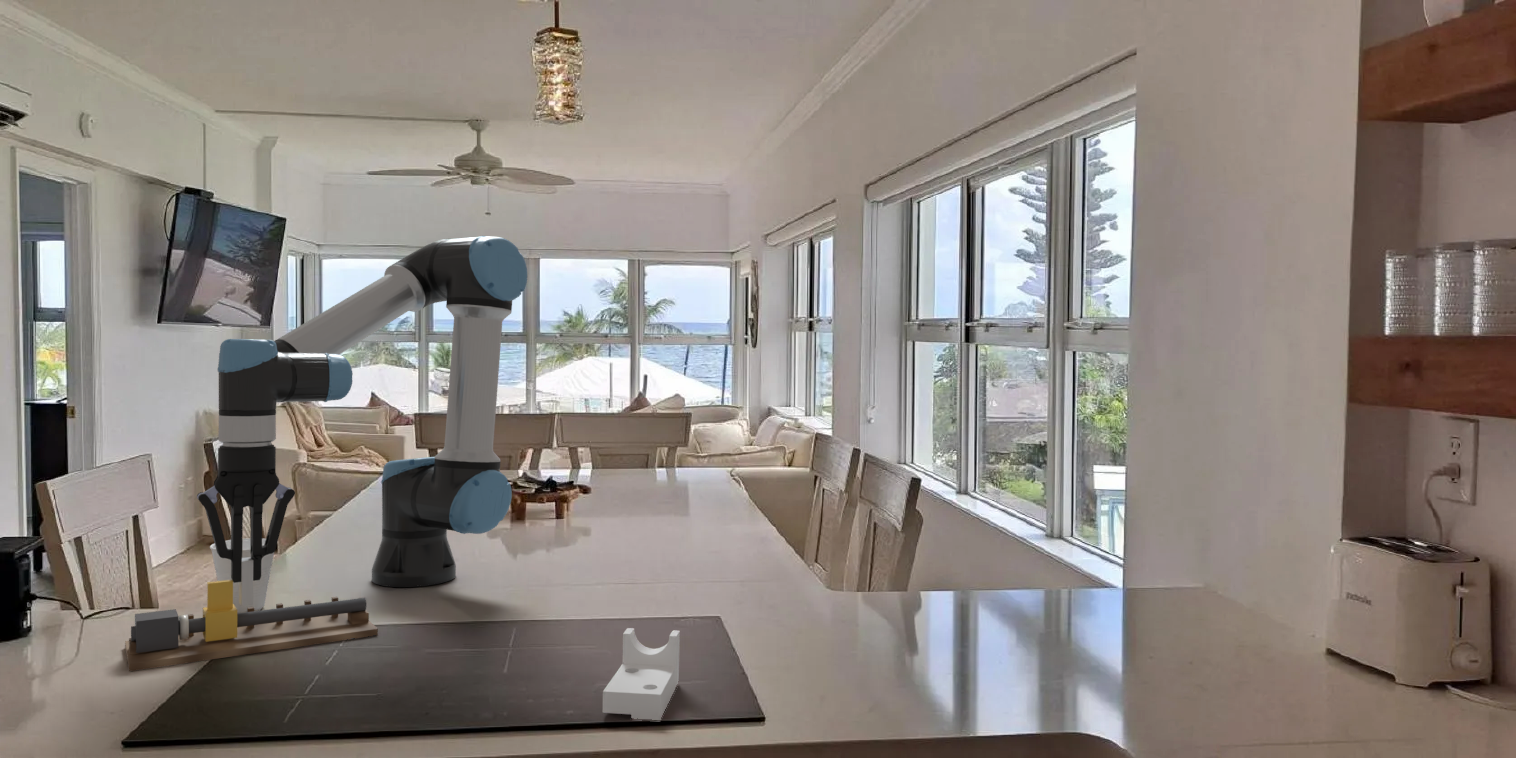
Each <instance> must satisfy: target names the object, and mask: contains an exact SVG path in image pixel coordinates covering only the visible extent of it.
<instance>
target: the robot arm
mask: <svg viewBox="0 0 1516 758" xmlns="http://www.w3.org/2000/svg"><path fill="white" fill-rule="evenodd" d="M527 283H528V267H527V263H526V261H525V258H524V255H523V254H522V253H521V252H520V251H519V248H518V247H517V246H516V245H515V243H513V241H512V242H511V241H510V240H508V239H506V238H504V237H501V236H488V235H479V236H473V237H472V236H471V237H461V238H459V237H458V238H442V239H439V240H435V241H433V242H431V243H428V244H427V245H426V244H425V245H424V246H422V247H421V248H418V249H417V250H416V251H413V252H411V253H410V254H408V255H406V256H405V257H403V258H402V259H399V260H398V261H396V262H393V264H391V265H389V266H388V267H386V269H385V271H384V275H383V276H382V277H380V278H379V279H377V280H375V281H374V282H372V283H370V284H368V285H366V286H365V287H363V288H362V289H359V290H358V291H357V292H355V293H354V294H352V295H351V294H350V295H349V296H348V297H347V298H345V299H343V300H342V301H340V302H338V303H337V304H335V305H333V306H331V307H330V308H328V309H326V310H325V311H323V312H321V313H319V314H318V315H316V316H314V317H313V318H311V319H309V320H307V321H306V322H304V323H302V324H300V325H299V326H298V327H296V328H294V329H293V330H291V331H289V332H288V333H286V334H284V335H282V336H280V337H279V338H278V339H277V338H276V339H275V340H273V339H255V338H254V339H253V338H251V339H248V338H247V339H246V338H226V339H225V340H223V341H222V342H221V343H220V346H219V354H218V365H217V372H218V437H217V438H218V439H217V440H218V442H220V443H222V445H220V446H219V447H218V448H217V475H216V478H215V479H214V481H213V486H211V487H210V488H208V489H207V490H205V491H204V492H203V491H202V492H198V493H197V495H196V498H197V500H198V502H200V504H201V505H202V506H203V508H204V510H205V513H206V516H207V520H208V525H209V528H210V531H211V536H212V539H213V542H214V543H215V547H216V550H217V553H218V555H219V556H220V557H221V558H226V559H230V560H231V578H232V580H233V582H234V583H237V582H239V602H240V604H241V606H245V605H253V581H255V580H260V578H261V560H262V558H263V557H264V556H265V555H268V554H272V553H274V554H275V552H276V549H277V545H278V541H279V538H280V534H281V529H282V527H283V523H284V520H285V515H286V511H287V509H288V505H290V502H291V501H292V499H293V498H294V497H295V495H296V491H295V489H293V488H291V487H289V486H285V485H284V484H281V483H280V479H279V477H278V474H277V472H276V461H277V460H276V458H277V457H276V456H277V455H276V454H277V452H276V451H277V450H276V449H277V447H276V446H275V444H273V442H275V441H276V439H277V426H276V425H277V418H276V417H277V403H285V402H286V403H287V402H288V403H289V402H290V403H291V402H297V403H298V402H300V403H302V402H305V403H306V402H324V403H327V402H330V401H339V400H342V399H343V398H345V397H347V396H348V394H349V393H350V391H351V388H352V385H353V369H352V366H351V364H350V362H349V360H348V359H347V358H346V357H345V356H344V355H341V354H342V353H344V352H346V351H347V350H350V349H351V348H352V347H354V346H355V345H357V344H358V343H360V342H362V341H363V340H365V339H367V338H368V337H370V336H371V335H373V334H375V332H377V331H379V330H380V329H383V327H385V326H387V325H389V324H390V323H391V322H393V321H396V320H397V319H398V318H400V317H401V316H403V315H404V314H406V313H407V312H413V313H415V312H419V311H421V310H423V309H424V308H425V307H427V306H431V305H432V304H437V303H441V302H446V304H445V305H446V306H445V308H446V309H447V310H448V311H449V312H450V313H451V315H452V316H453V327H452V328H453V330H452V338H451V339H452V340H451V341H452V343H451V353H450V367H449V368H450V369H449V381H448V395H447V405H446V409H447V411H446V421H445V422H446V423H445V432H444V433H445V434H444V435H445V436H444V445H443V446H444V447H443V448H442V450H440V452H438V453H437V454H436V455H435V456H429V457H418V458H415V457H414V458H407V459H406V458H404V459H395V460H390V461H388V462H386V463H385V464H384V466H383V468H382V469H383V470H382V478H381V482H380V483H381V516H382V517H381V528H382V529H381V542H380V544H379V547H378V549H377V553H376V556H375V559H374V562H373V565H372V567H371V582H372V583H373V584H375V585H378V586H382V587H392V588H394V587H395V588H412V587H413V588H416V587H417V588H418V587H427V586H432V585H438V584H443V583H446V582H449V581H451V580H452V581H453V579H454V578H456V577H457V574H456V573H457V571H456V570H457V569H456V568H457V564H456V561H455V559H454V556H453V552H452V549H451V545H450V543H449V540H448V536H447V535H448V534H447V533H448V532H447V531H448V530H449V531H452V532H453V531H454V532H457V533H460V534H463V535H465V534H471V535H472V534H473V535H474V534H475V535H481V534H485V533H489V532H490V531H492V530H493V529H495V528H496V527H497V526H499V523H500V522H501V521H503V519H504V518H505V517H506V515H507V514H508V512H509V509H510V507H511V502H512V497H513V495H512V494H513V493H512V491H513V490H512V486H511V482H509V481H508V477H506V475H505V474H503V473H502V472H501V463H502V462H501V458H500V457H499V456H498V455H497V454H496V453H495V451H494V441H495V427H496V413H497V400H498V399H497V397H498V387H499V385H498V383H499V371H500V360H501V359H500V357H501V347H502V346H501V343H502V332H503V331H502V330H503V321H504V320H505V319H506V318H507V317H509V316H510V315H511V314H512V309H513V301H514V300H516V299H517V298H519V297H520V296H521V295H522V292H524V291H525V290H526V287H527V285H528V284H527ZM275 491H276V492H275ZM274 492H275V496H274V497H275V498H276V501H275V505H274V508H273V512H272V516H271V519H270V522H269V527H268V530H267V534H266V538H265V539H266V541H265V544H264V546H262V538H263V512H264V511H263V510H264V508H263V507H264V504H265V503H266V502H267V501H268V500H269V498H270V497H271V495H272V494H273V493H274ZM217 494H219V495H220V496H221V497H222V499H223V500H224V501H225V502H226V503H227V504H228V506H230V517H231V518H230V540H231V549H227V546H226V542H225V541H226V539H225V536H224V531H223V528H222V524H221V521H220V517H219V514H218V510H217V508H216V505H215V504H216V503H218V497H217ZM247 507H249V510H250V537H249V538H250V553H251V557H247V558H242V539H243V535H244V534H243V533H244V531H243V524H244V517H243V516H244V508H247ZM214 543H213V544H214Z"/></svg>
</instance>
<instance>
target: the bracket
mask: <svg viewBox="0 0 1516 758" xmlns="http://www.w3.org/2000/svg"><path fill="white" fill-rule="evenodd" d="M680 633H681V631H680V630H677V629H675V630H672V631H671V632H670V634H669V637H668V642H667V643H666V644H665V645H662V646H661V647H657V648H651V647H647V646H645V645H644V644H642V643H641V642H640V641H639V639H638V638H637V635H636V632H635V628H633V627H627V628H626V629H625V630H624V632H623V634H622V664H621V665H620V667H619V668H618V670H617V671H616V672H615V674H614V675H613V676H612V678H611V679H610V681H609V682H608V684H607V685H606V687H605V688H604V689H603V690H602V714H603V713H605V714H618V715H621V714H622V715H631V716H630V717H631V718H634V719H637V718H638V719H652V720H662V719H661V717H662V715H663V713H664V711H665V709H666V707H667V704H668V703H669V701H670V698H671V696H672V694H673V692H674V690H675V687H676V685H677V684H678V681H679V680H680V676H679V675H680V643H681V641H680V636H681V634H680ZM679 682H680V681H679ZM670 702H671V701H670ZM669 704H670V703H669ZM667 708H668V707H667ZM666 710H667V709H666ZM665 712H666V711H665ZM664 714H665V713H664ZM663 716H664V715H663ZM631 718H630V719H631ZM662 718H663V717H662Z"/></svg>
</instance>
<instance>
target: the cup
mask: <svg viewBox="0 0 1516 758" xmlns="http://www.w3.org/2000/svg"><path fill="white" fill-rule="evenodd" d="M265 541H266V538H263V537H262V546H264V544H265ZM225 542H226V546H227V549H231V539H228V540H225ZM209 549H210V550H211V553H212V560H213V565H214V569H215V576H216V581H224V580H232V578H231V560H230V559H226V558H221V557H220V556H219V555H218V553H217V550H216V547H215V543H212V544H211V545H210V546H209ZM274 555H275V552H274V553H272V554H268V555H265V556H264V557H263V558H262V560H261V578H260V580H255V581H253V605H245V606H241V604H240V602H239V582H237V583H234V582H233V604H234V605H235V607H236V609H237V613H245V612H247V607H254V611H261V610H263V608H264V607H265V603H266V598H267V591H268V589H269V588H268V586H269V581H270V577H271V576H270V575H271V571H272V570H271V569H272V564H273V561H274ZM247 557H251V553H250V537H248V538H242V558H247Z"/></svg>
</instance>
